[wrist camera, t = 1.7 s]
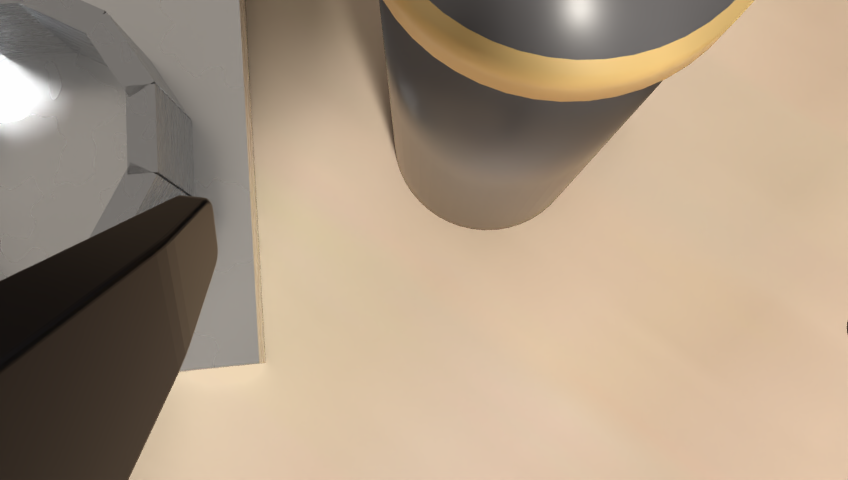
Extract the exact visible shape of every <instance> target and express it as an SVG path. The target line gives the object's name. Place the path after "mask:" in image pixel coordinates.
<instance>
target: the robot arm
mask: <svg viewBox="0 0 848 480" xmlns="http://www.w3.org/2000/svg"><path fill="white" fill-rule="evenodd" d="M217 257H218V245H217V237H216V229H215V221H214V213H213V207H212V204H211V202H210V201H209V200H208V199H207V198H204V197H195V196H185V195H178V196H176V197H174V198H171V199H169V200H167V201H165V202H163V203H161V204H159V205H157V206H155V207H153V208H151V209H149V210H146V211H144V212H142V213H140V214H138V215H136V216H134V217H132V218H130V219H128V220H126V221H124V222H122V223H119V224H117V225H115V226H113V227H111V228H109V229H107V230H105V231H103V232H101V233H99V234H97V235H94V236H92V237H90V238H88V239H86V240H84V241H82V242H80V243H78V244H76V245H74V246H72V247H69V248H67V249H65V250H63V251H61V252H59V253H57V254H55V255H53V256H51V257H49V258H47V259H44V260H42V261H40V262H38V263H36V264H34V265H32V266H30V267H28V268H26V269H24V270H22V271H19V272H17V273H15V274H13V275H11V276H9V277H7V278H5V279H3V280H1V281H0V480H128V479H129V477H130V475H131V473H132V471H133V469H134V467H135V464H136V462H137V460H138V458H139V456H140V454H141V452H142V450H143V447H144V445H145V443H146V441H147V439H148V437H149V435H150V432H151V430H152V428H153V426H154V424H155V422H156V420H157V418H158V415H159V413H160V411H161V409H162V407H163V405H164V403H165V401H166V398H167V396H168V394H169V392H170V390H171V388H172V386H173V384H174V381H175V379H176V377H177V375H178V373H179V371H180V368H181V366H182V364H183V362H184V359H185V357H186V354H187V352H188V349H189V346H190V343H191V340H192V337H193V334H194V331H195V328H196V325H197V322H198V319H199V316H200V313H201V309H202V306H203V303H204V300H205V297H206V294H207V291H208V288H209V285H210V282H211V279H212V276H213V273H214V269H215V266H216V263H217ZM847 333H848V322H847Z"/></svg>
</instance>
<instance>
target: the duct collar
mask: <svg viewBox="0 0 848 480" xmlns="http://www.w3.org/2000/svg"><path fill="white" fill-rule="evenodd" d="M178 195H185V196H195V197H204V198H207V199H208V200H209V201H210V202H211V204H212V207H213V213H214V221H215V229H216V237H217V245H218V257H217V263H216V266H215V269H214V273H213V276H212V279H211V282H210V285H209V288H208V291H207V294H206V297H205V300H204V303H203V306H202V309H201V313H200V316H199V319H198V322H197V325H196V328H195V331H194V334H193V337H192V340H191V343H190V346H189V349H188V352H187V354H186V357H185V359H184V362H183V364H182V366H181V368H180V371H189V370H199V369H209V368H219V367H229V366H239V365H249V364H259V363H265V346H264V329H263V311H262V293H261V276H260V258H259V241H258V223H257V206H256V188H255V170H254V153H253V135H252V118H251V100H250V83H249V65H248V47H247V30H246V12H245V0H0V281H1V280H3V279H5V278H7V277H9V276H11V275H13V274H15V273H17V272H19V271H22V270H24V269H26V268H28V267H30V266H32V265H34V264H36V263H38V262H40V261H42V260H44V259H47V258H49V257H51V256H53V255H55V254H57V253H59V252H61V251H63V250H65V249H67V248H69V247H72V246H74V245H76V244H78V243H80V242H82V241H84V240H86V239H88V238H90V237H92V236H94V235H97V234H99V233H101V232H103V231H105V230H107V229H109V228H111V227H113V226H115V225H117V224H119V223H122V222H124V221H126V220H128V219H130V218H132V217H134V216H136V215H138V214H140V213H142V212H144V211H146V210H149V209H151V208H153V207H155V206H157V205H159V204H161V203H163V202H165V201H167V200H169V199H171V198H174V197H176V196H178Z"/></svg>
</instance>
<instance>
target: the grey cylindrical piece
mask: <svg viewBox="0 0 848 480" xmlns="http://www.w3.org/2000/svg"><path fill="white" fill-rule="evenodd" d="M379 2H380V12H381V21H382V30H383V40H384V49H385V58H386V67H387V77H388V86H389V95H390V105H391V114H392V123H393V133H394V142H395V151H396V157H397V162H398V165H399V168H400V172H401V174H402V176H403V178H404V180H405V182H406V184H407V185H408V187H409V189H410V190H411V192H412V193H413V194H414V195H415V197H416V198H417V199H418V200H419V201H420V202H421V203H422V204H423V205H424V206H425V207H426V208H427V209H428V210H430V211H431V212H433V213H434V214H436V215H437V216H439V217H440V218H442V219H444V220H446V221H448V222H451V223H453V224H456V225H459V226H462V227H466V228H471V229H479V230H497V229H503V228H509V227H512V226H515V225H519V224H521V223H523V222H526V221H528V220H530V219H532V218H533V217H535V216H537V215H538V214H540V213H541V212H542V211H544V210H545V209H546V208H547V207H549V206H550V205H551V204H552V202H553V201H554V200H555V199H556V198H557V197H558V196H559V195H560V194H561V193H562V192H563V190H564V189H565V188H566V187H567V186H568V185H569V184H570V183H571V182H572V180H573V179H574V178H575V177H576V176H577V175H578V174H579V173H580V172H581V171H582V169H583V168H584V167H585V166H586V165H587V164H588V163H589V162H590V161H591V159H592V158H593V157H594V156H595V155H596V154H597V153H598V152H599V151H600V149H601V148H602V147H603V146H604V145H605V144H606V143H607V142H608V141H609V139H610V138H611V137H612V136H613V135H614V134H615V133H616V132H617V131H618V130H619V128H620V127H621V126H622V125H623V124H624V123H625V122H626V121H627V120H628V118H629V117H630V116H631V115H632V114H633V113H634V112H635V111H636V110H637V108H638V107H639V106H640V105H641V104H642V103H643V102H644V101H645V100H646V99H647V97H648V96H649V95H650V94H651V93H652V92H653V91H654V90H655V89H656V87H657V86H658V85H659V84H660V83H661V82H662V81H663V80H664V79H667V78H668V77H670V76H672V75H673V74H675V73H676V72H678V71H680V70H681V69H683V68H685V67H686V66H688V65H689V64H691V63H692V62H693V61H694V60H696V59H697V58H698V57H699V56H700V55H702V54H703V53H704V52H705V51H707V50H708V49H709V48H710V47H711V46H712V45H713V44H714V43H715V42H716V41H717V40H718V39H719V38H720V36H721V35H722V34H723V33H724V32H725V31H726V30H727V29H728V28H729V27H730V26H731V25H732V24H733V23H734V22H735V21H736V20H737V19H738V18H739V17H740V16H741V15H742V13H743V12H744V11H745V10H746V9H747V8H748V7H749V6H750V5H751V4H752V3H753V2H754V0H379Z"/></svg>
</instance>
